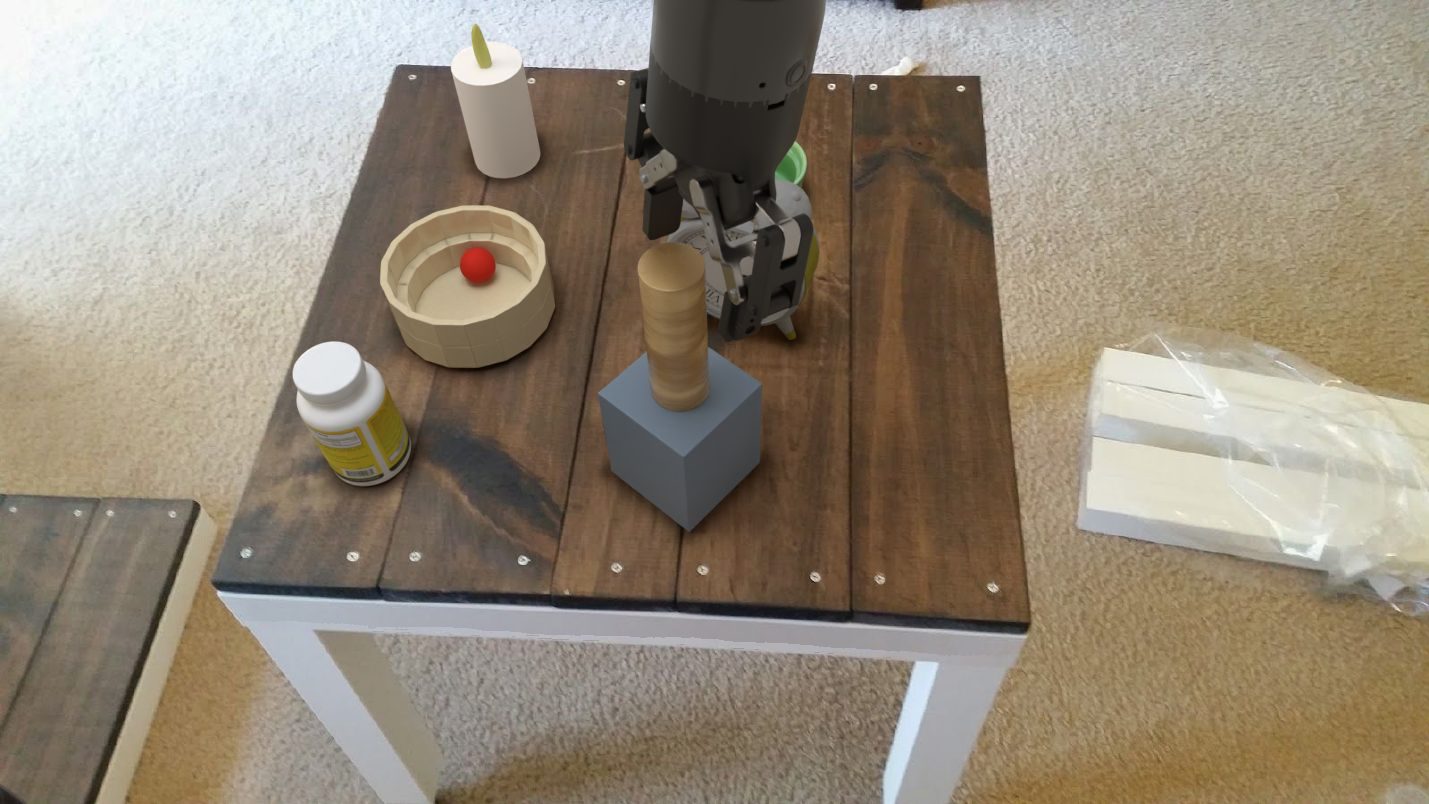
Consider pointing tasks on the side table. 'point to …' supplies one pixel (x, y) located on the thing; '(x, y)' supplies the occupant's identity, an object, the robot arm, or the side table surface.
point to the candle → (496, 107)
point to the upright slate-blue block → (683, 439)
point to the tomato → (477, 265)
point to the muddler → (675, 324)
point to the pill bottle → (350, 414)
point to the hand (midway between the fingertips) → (697, 281)
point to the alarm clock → (694, 236)
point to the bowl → (468, 286)
